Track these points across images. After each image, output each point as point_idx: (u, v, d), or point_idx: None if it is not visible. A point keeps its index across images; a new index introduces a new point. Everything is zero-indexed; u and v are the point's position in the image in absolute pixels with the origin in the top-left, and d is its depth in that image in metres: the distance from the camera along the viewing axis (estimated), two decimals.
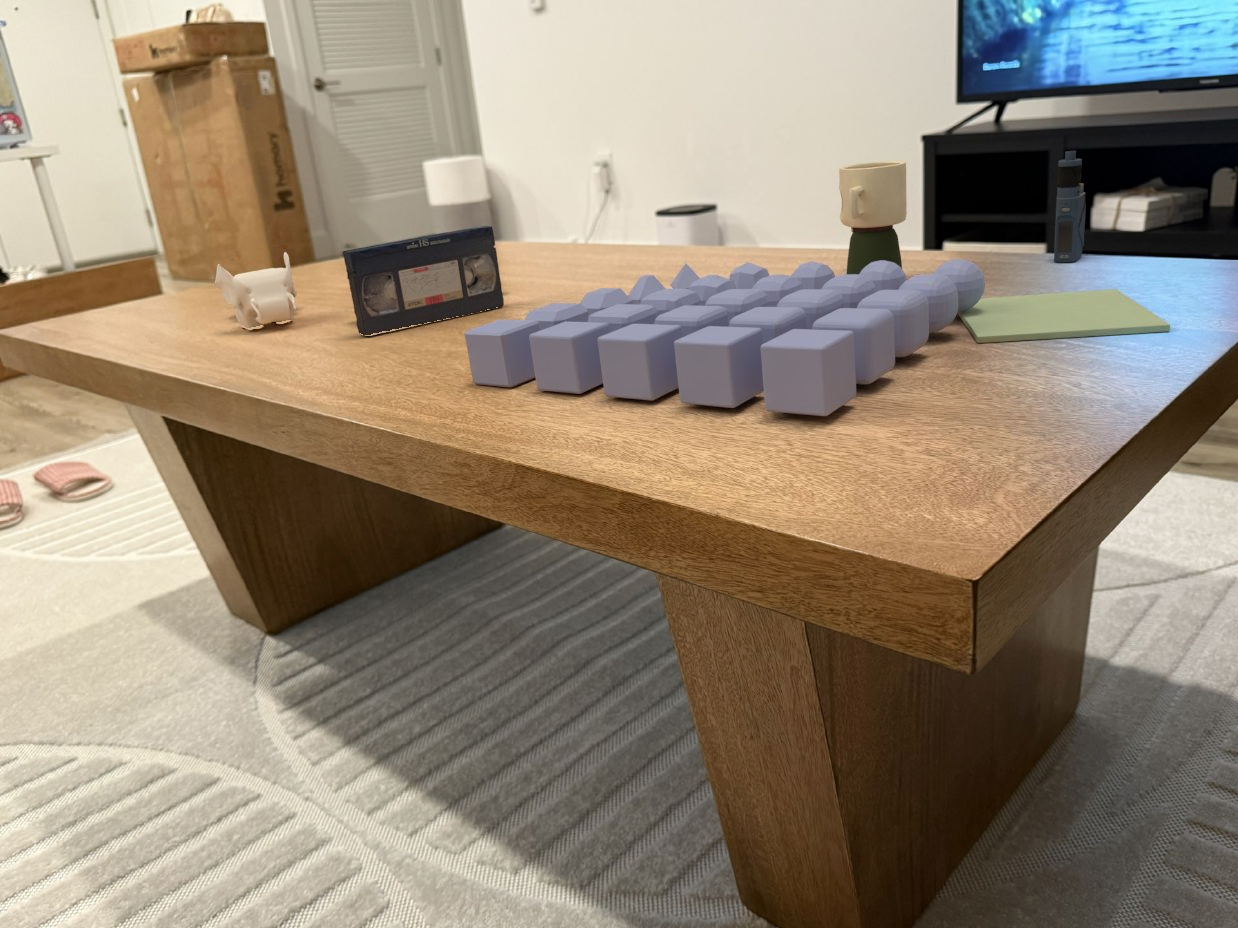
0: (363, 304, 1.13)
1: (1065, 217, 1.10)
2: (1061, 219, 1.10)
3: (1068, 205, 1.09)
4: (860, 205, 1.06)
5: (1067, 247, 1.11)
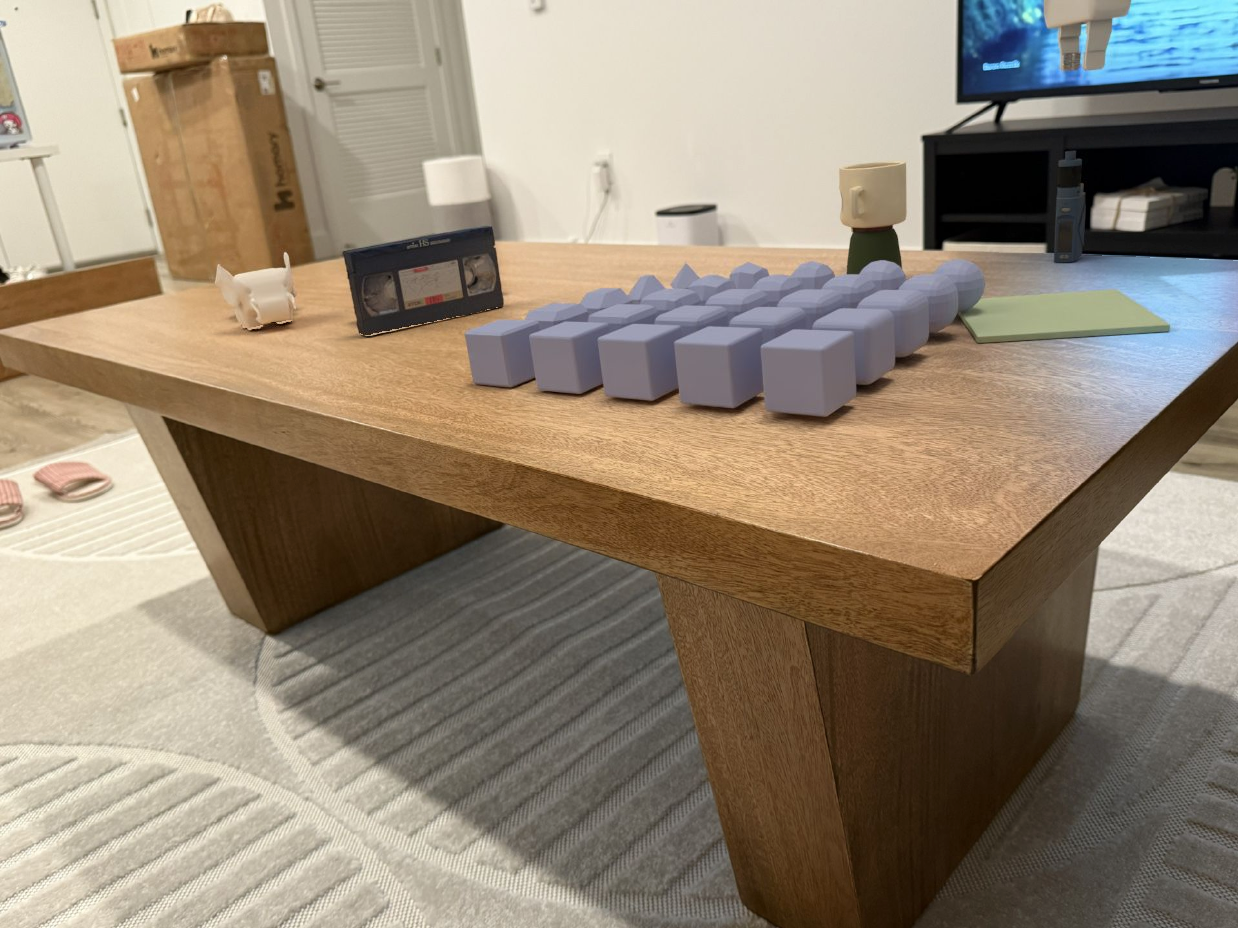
0: (364, 304, 1.13)
1: (1065, 217, 1.10)
2: (1061, 219, 1.10)
3: (1068, 205, 1.09)
4: (860, 205, 1.06)
5: (1067, 247, 1.11)
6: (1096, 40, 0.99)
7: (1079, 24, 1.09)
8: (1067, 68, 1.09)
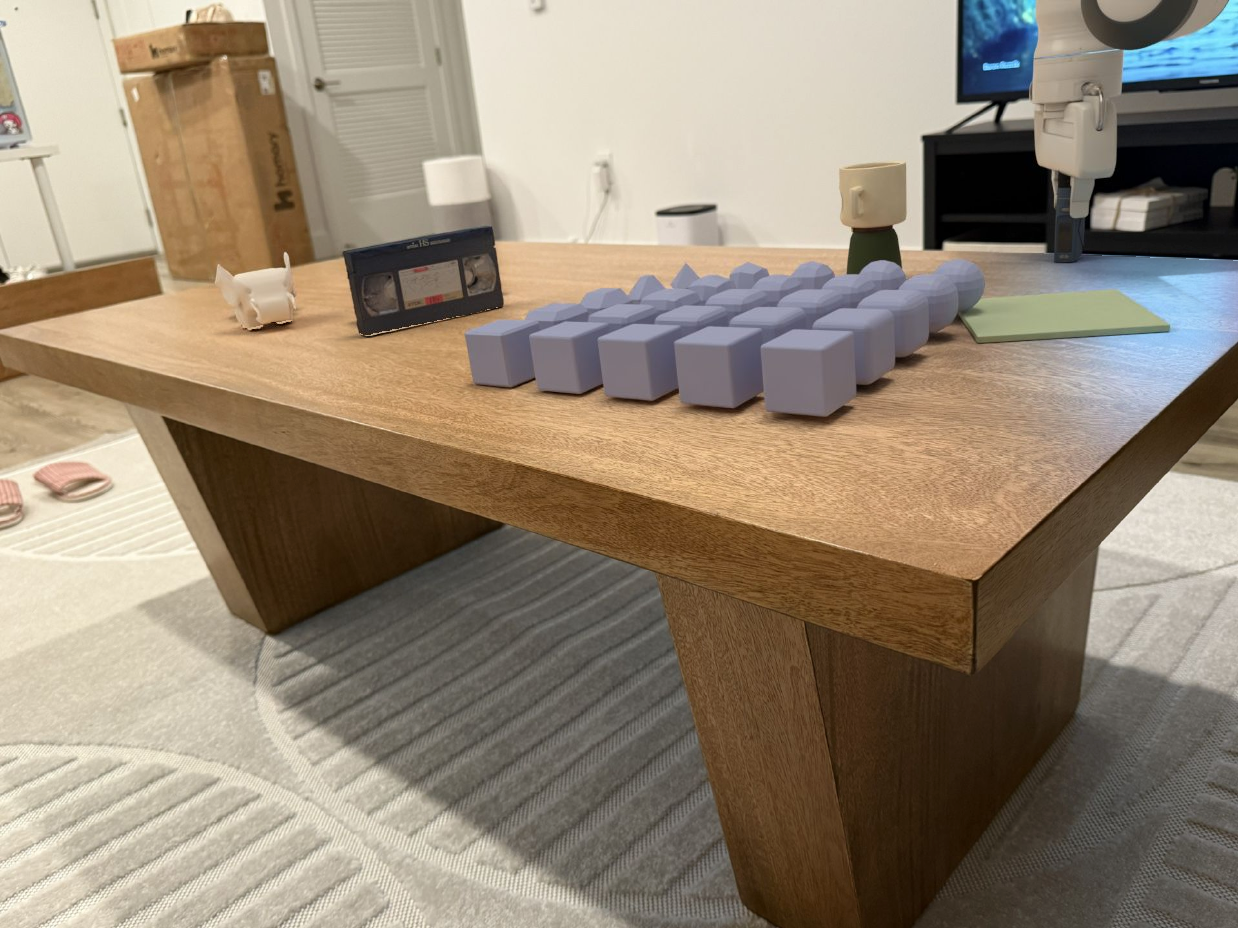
0: (364, 304, 1.13)
1: (1065, 217, 1.10)
2: (1061, 219, 1.10)
3: None
4: (860, 205, 1.06)
5: (1067, 247, 1.11)
6: (1080, 192, 1.06)
7: None
8: None
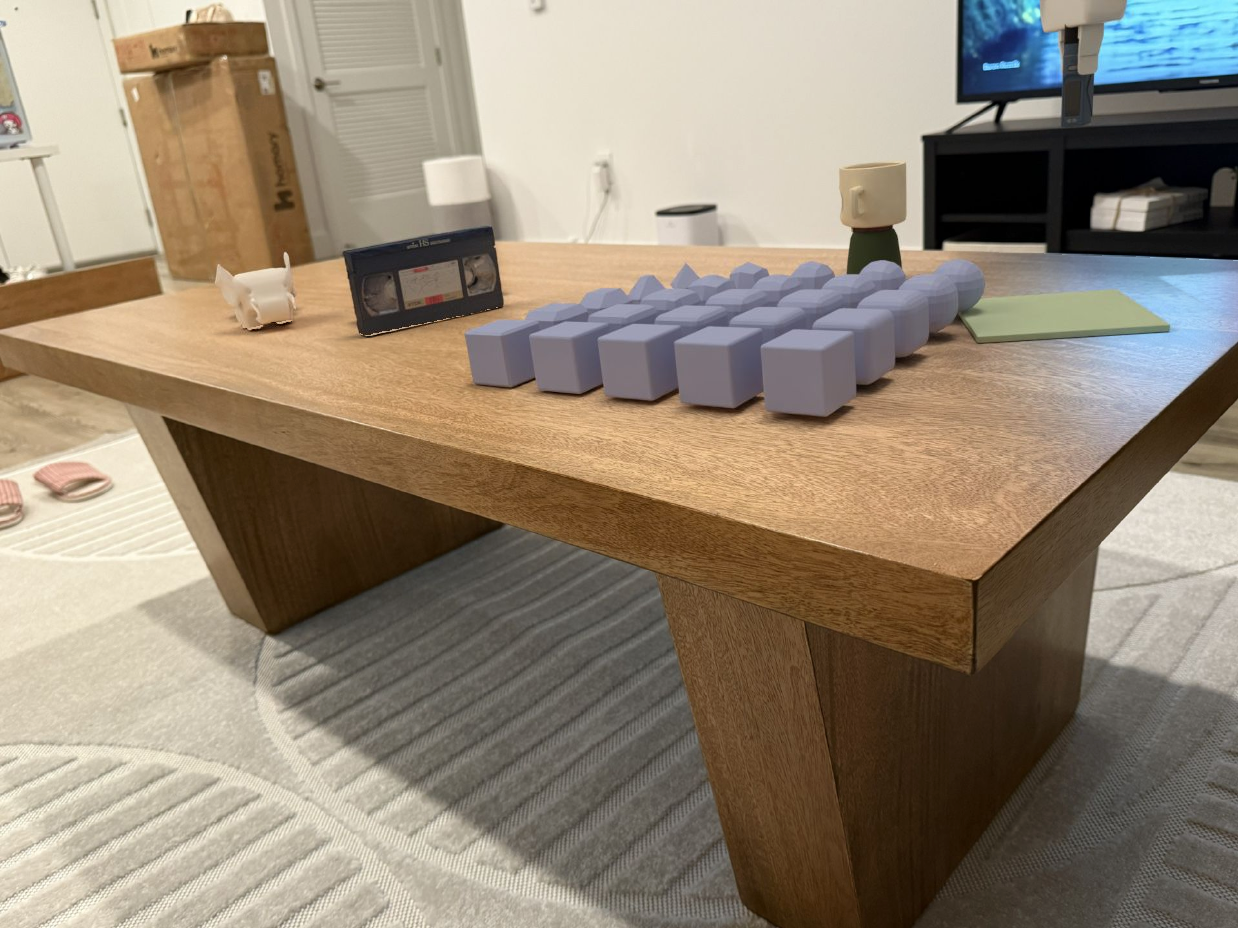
0: (364, 304, 1.13)
1: (1072, 77, 1.03)
2: (1068, 79, 1.03)
3: (1075, 63, 1.02)
4: (860, 205, 1.06)
5: (1075, 110, 1.04)
6: (1088, 45, 0.99)
7: None
8: None
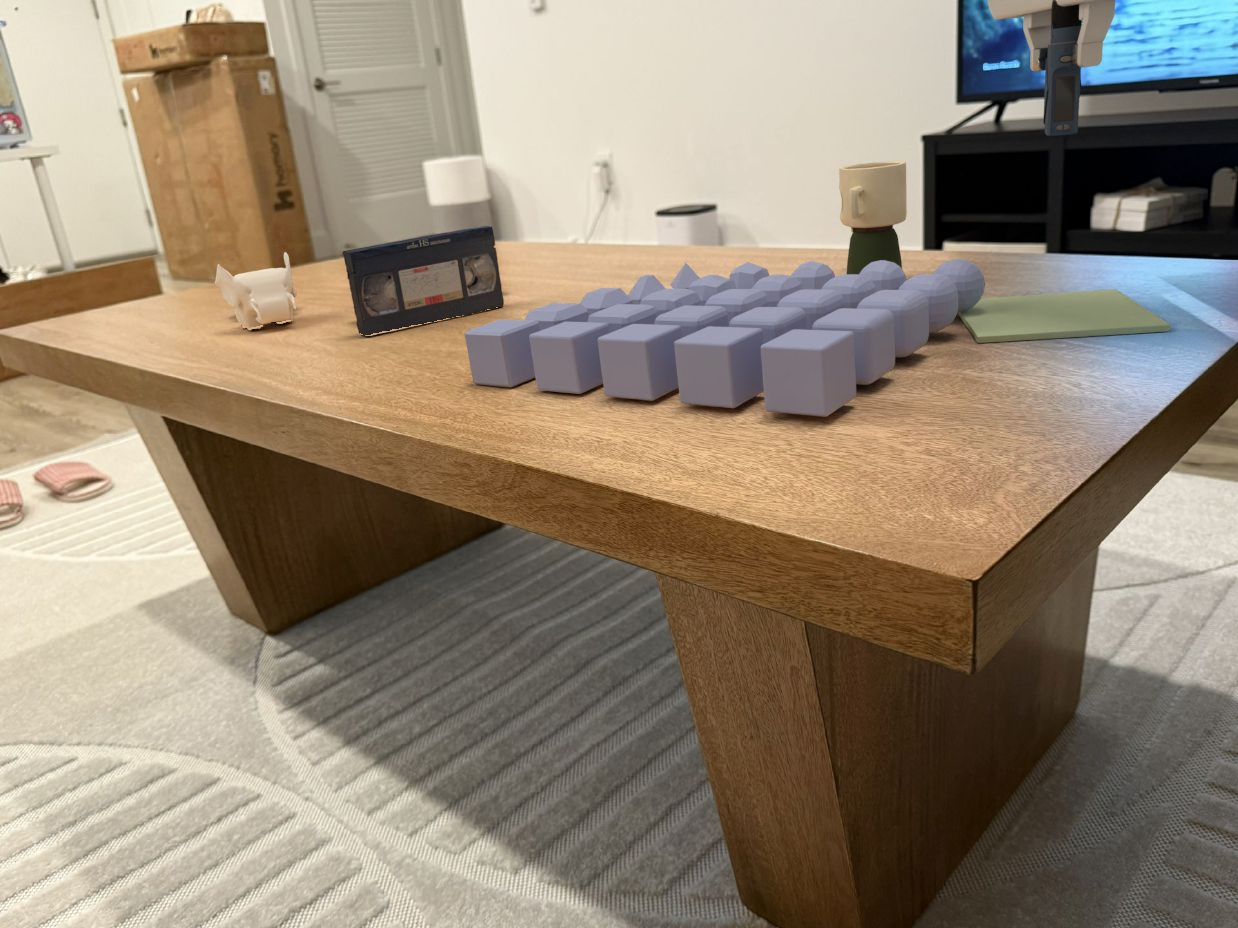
0: (364, 304, 1.13)
1: (1064, 70, 0.80)
2: (1059, 73, 0.80)
3: (1070, 52, 0.79)
4: (860, 205, 1.06)
5: (1067, 113, 0.81)
6: (1095, 27, 0.76)
7: None
8: (1043, 67, 0.84)
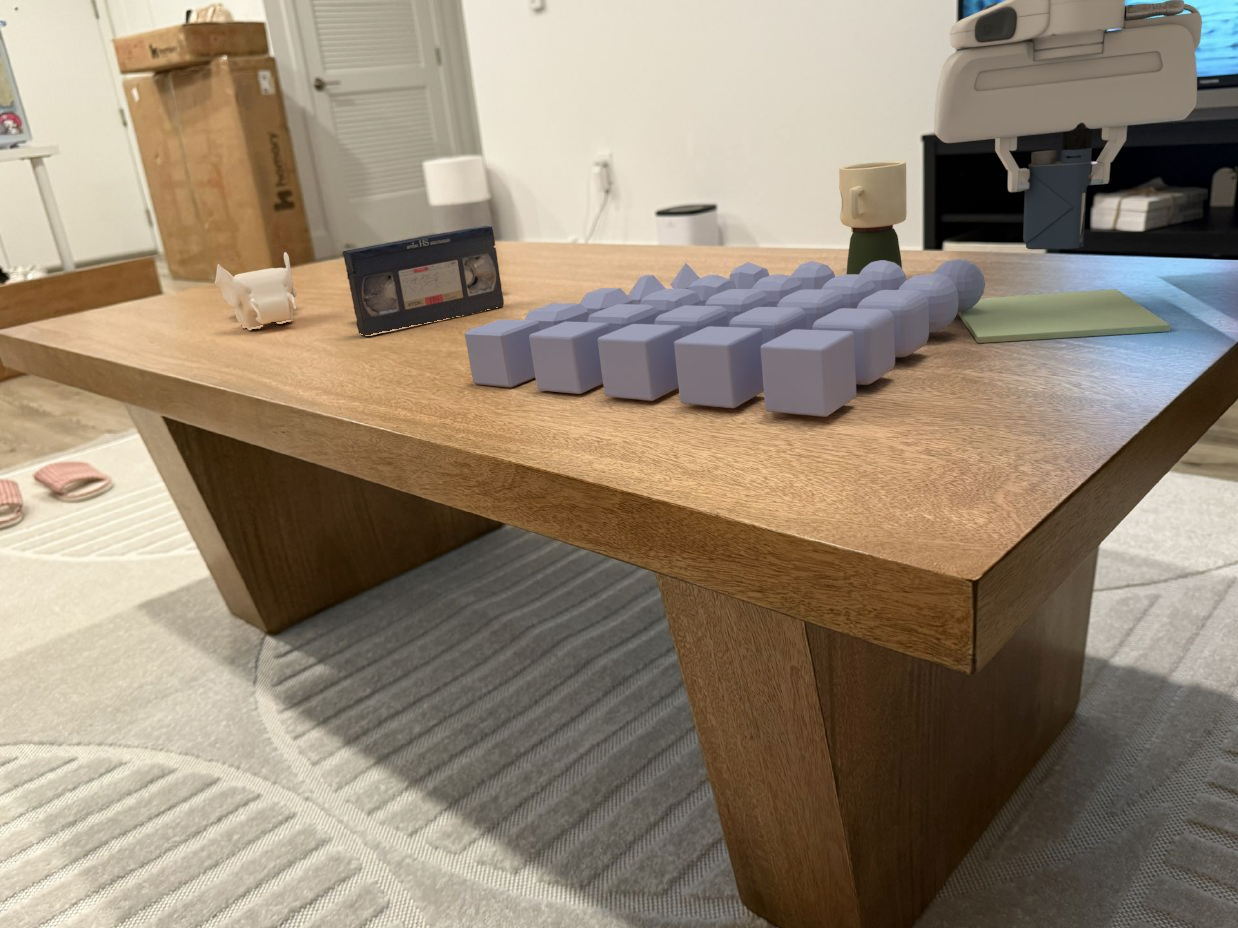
0: (364, 304, 1.13)
1: (1083, 187, 0.84)
2: (1082, 190, 0.84)
3: None
4: (860, 205, 1.06)
5: (1082, 226, 0.85)
6: None
7: None
8: None
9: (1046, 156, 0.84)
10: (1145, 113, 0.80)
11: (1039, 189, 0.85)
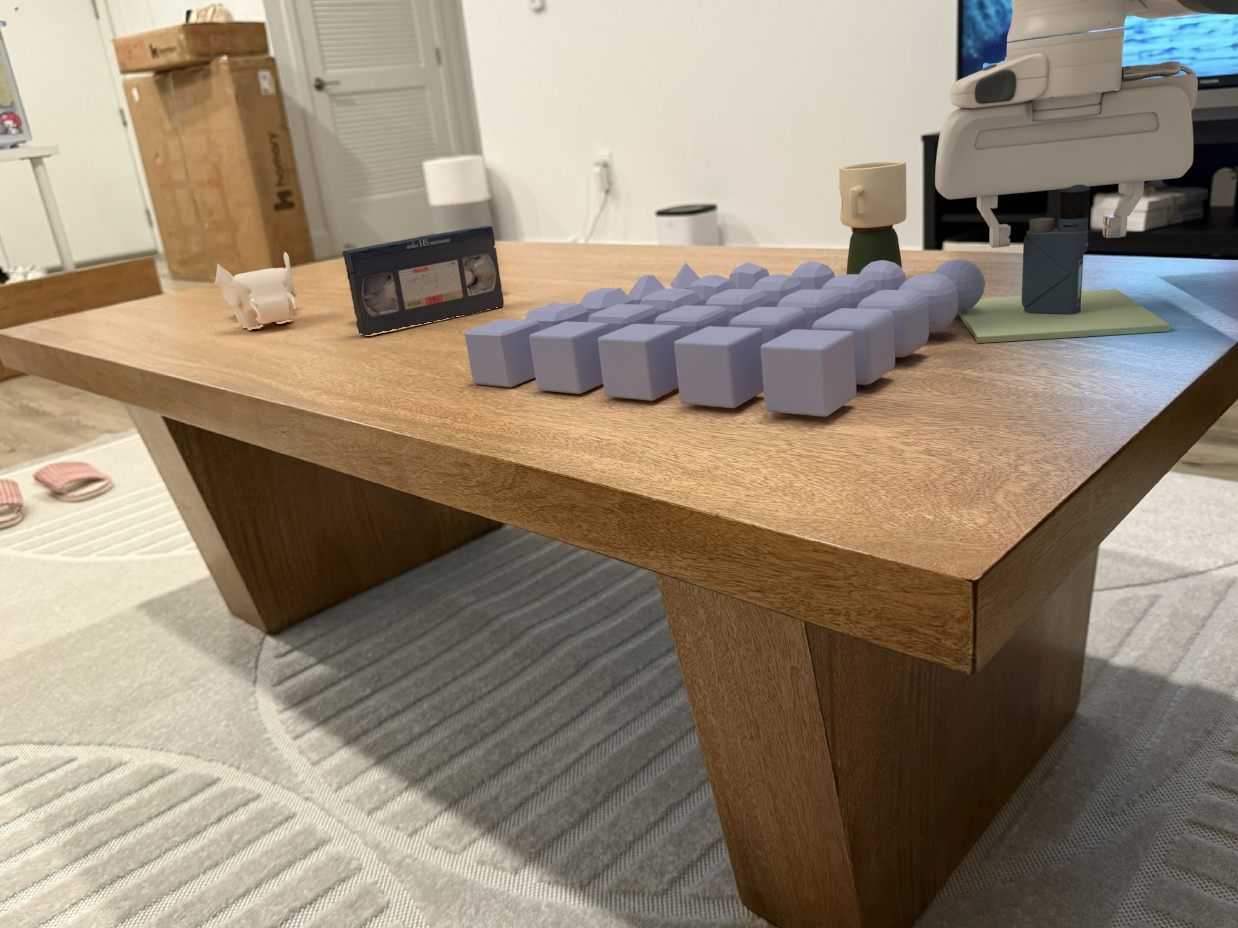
0: (364, 304, 1.13)
1: None
2: (1078, 257, 0.86)
3: (1086, 238, 0.85)
4: (860, 205, 1.06)
5: (1079, 292, 0.87)
6: None
7: None
8: None
9: (1044, 224, 0.86)
10: (1142, 171, 0.82)
11: (1037, 256, 0.87)
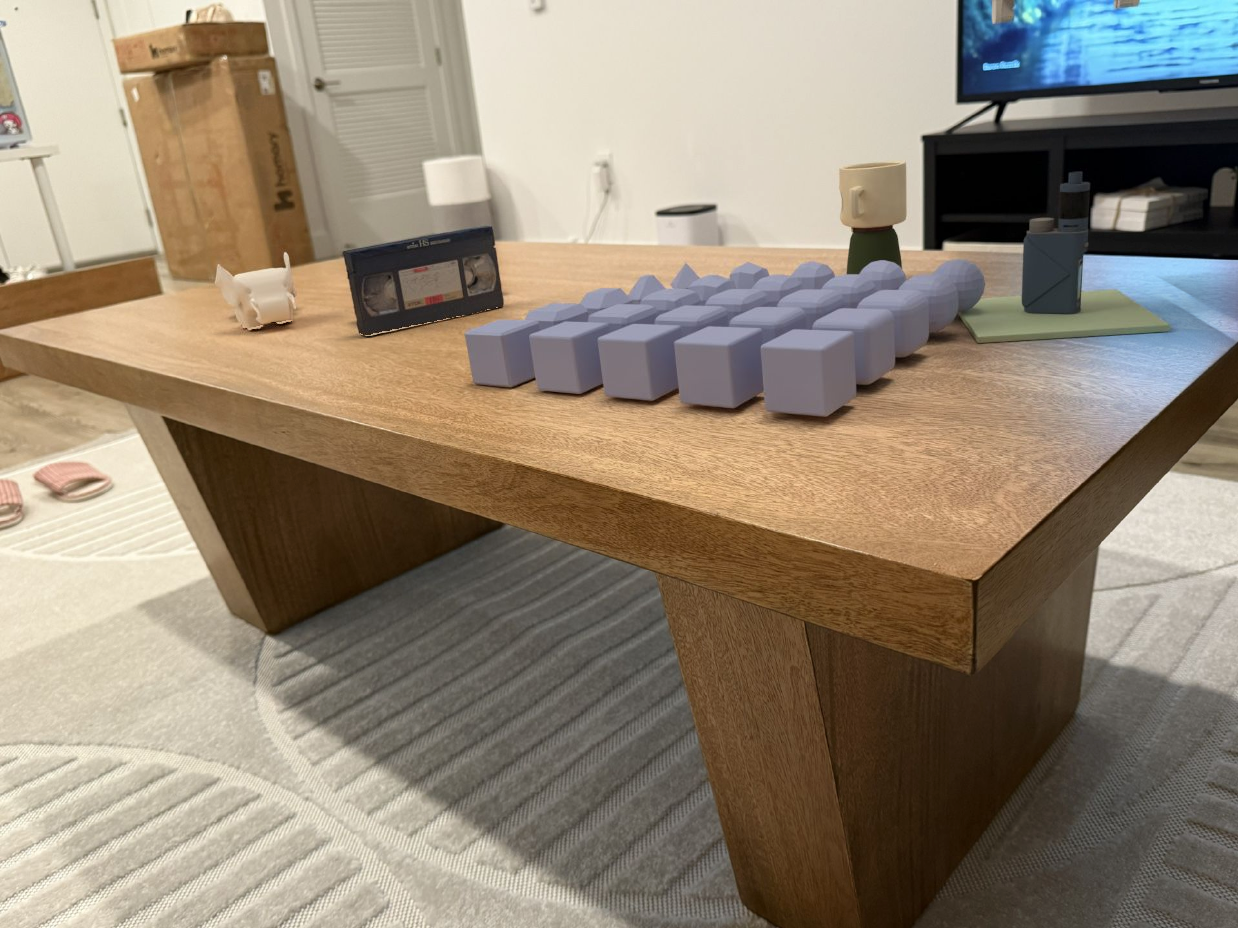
0: (364, 304, 1.13)
1: None
2: (1078, 257, 0.86)
3: (1086, 238, 0.85)
4: (860, 205, 1.06)
5: (1079, 292, 0.87)
6: None
7: None
8: None
9: (1044, 224, 0.86)
10: None
11: (1037, 256, 0.87)
